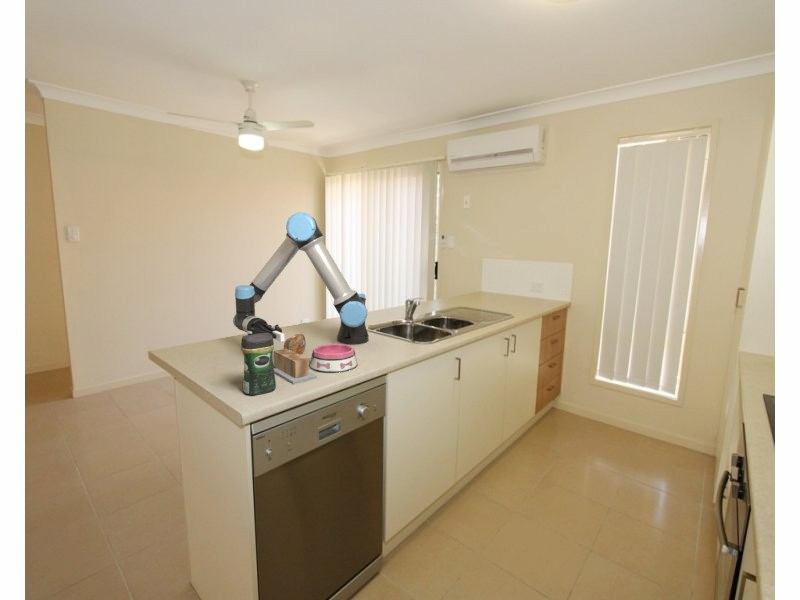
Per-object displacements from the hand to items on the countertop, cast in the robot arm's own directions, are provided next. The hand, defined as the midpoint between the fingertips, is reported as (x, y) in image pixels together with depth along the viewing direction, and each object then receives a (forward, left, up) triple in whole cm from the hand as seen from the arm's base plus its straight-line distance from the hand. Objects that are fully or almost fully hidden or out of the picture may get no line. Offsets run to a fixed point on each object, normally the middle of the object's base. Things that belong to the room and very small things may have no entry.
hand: (282, 337), depth 140 cm
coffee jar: (+11, +17, -12) cm, 24 cm away
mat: (-2, +8, -12) cm, 14 cm away
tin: (-8, -15, -12) cm, 21 cm away
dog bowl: (-19, +3, -12) cm, 23 cm away
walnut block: (0, -2, -8) cm, 8 cm away
